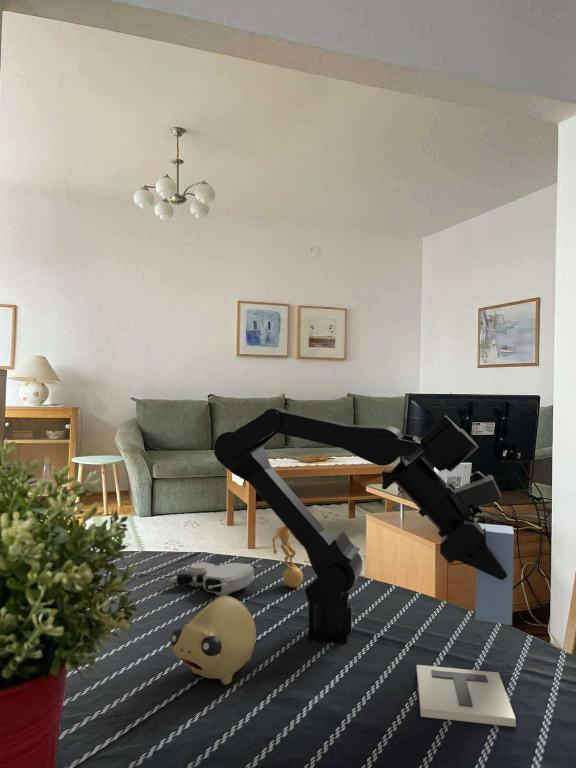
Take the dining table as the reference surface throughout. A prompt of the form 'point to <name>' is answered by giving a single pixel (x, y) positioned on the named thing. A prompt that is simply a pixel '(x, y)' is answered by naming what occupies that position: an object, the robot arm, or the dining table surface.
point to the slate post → (491, 590)
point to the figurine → (292, 573)
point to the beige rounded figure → (217, 639)
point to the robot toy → (217, 577)
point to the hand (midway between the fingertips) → (504, 572)
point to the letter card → (463, 696)
